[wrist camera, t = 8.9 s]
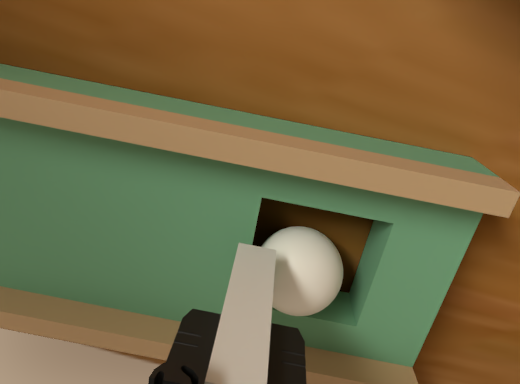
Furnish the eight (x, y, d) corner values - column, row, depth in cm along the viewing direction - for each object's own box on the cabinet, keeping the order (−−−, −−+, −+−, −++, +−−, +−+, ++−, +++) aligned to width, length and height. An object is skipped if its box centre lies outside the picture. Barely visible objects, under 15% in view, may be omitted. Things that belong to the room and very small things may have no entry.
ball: (369, 261, 18) (302, 223, 21) (344, 243, 15) (268, 201, 17) (327, 335, 18) (264, 289, 21) (292, 334, 15) (222, 279, 17)
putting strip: (-290, 5, 17) (-449, 0, 13) (472, 157, 17) (520, 192, 14) (-215, 224, 21) (-319, 265, 18) (393, 344, 22) (414, 409, 18)
